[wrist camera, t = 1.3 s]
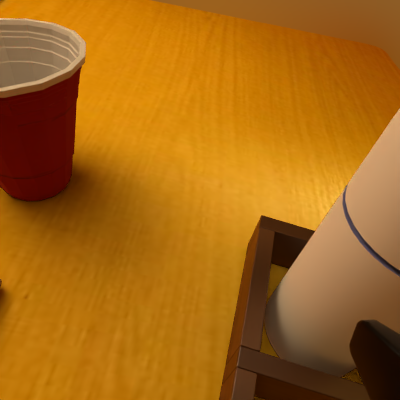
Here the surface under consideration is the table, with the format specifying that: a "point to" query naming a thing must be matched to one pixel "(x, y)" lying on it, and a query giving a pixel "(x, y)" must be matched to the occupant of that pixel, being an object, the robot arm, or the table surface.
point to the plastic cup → (37, 106)
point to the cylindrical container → (344, 268)
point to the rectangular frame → (253, 327)
